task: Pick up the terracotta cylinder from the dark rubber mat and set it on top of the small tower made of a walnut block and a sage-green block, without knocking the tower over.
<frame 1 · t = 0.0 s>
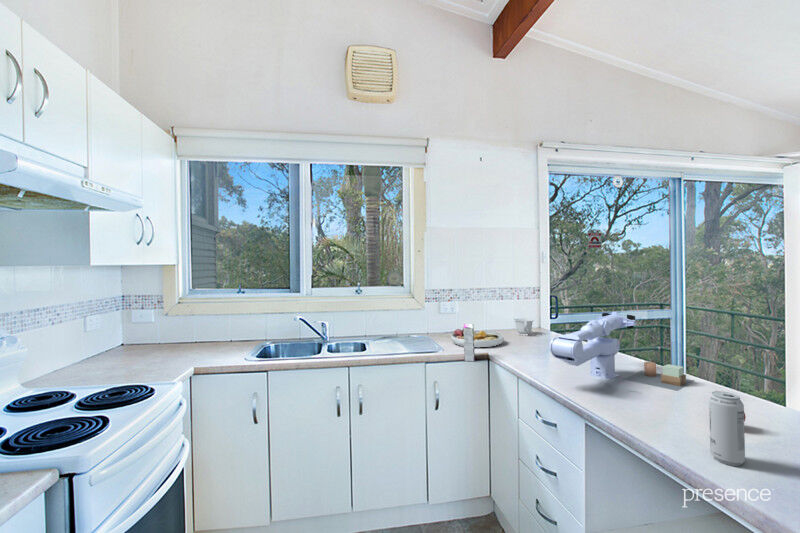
hand: (624, 317, 162), 22 cm above the counter, tool horizontal, fingers open, 7 cm apart
walnut base block: (673, 382, 138), resting on rubber mat, touching sage top block
energy drink can: (727, 461, 85), on the counter
bowl: (477, 344, 219), on the counter
rubber mat: (658, 381, 142), on the counter
onion: (731, 428, 102), on the counter
terracotta cylinder: (650, 375, 148), resting on rubber mat
sage top block: (673, 374, 138), point 3 cm above the counter, touching walnut base block
candy bar box: (469, 359, 183), on the counter
white planter pot: (524, 335, 239), on the counter
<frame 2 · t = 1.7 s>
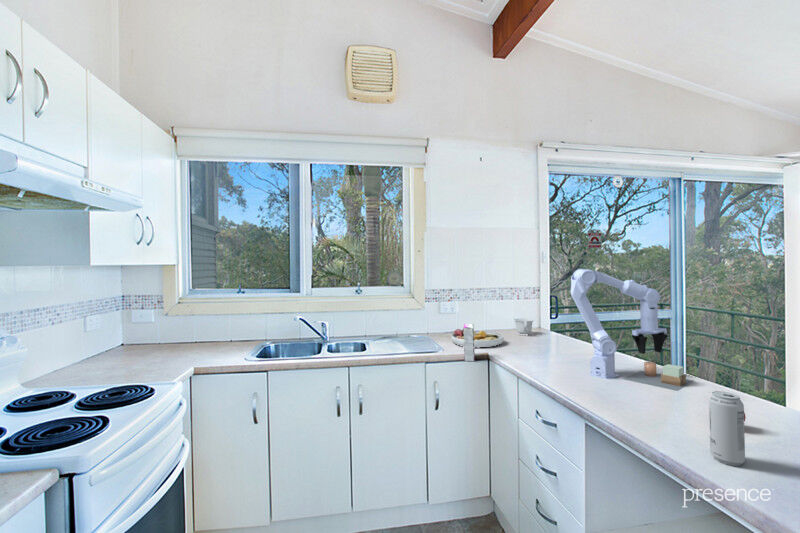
hand: (649, 352, 148), 10 cm above the counter, tool pointing down, fingers open, 7 cm apart
nothing on the counter moved.
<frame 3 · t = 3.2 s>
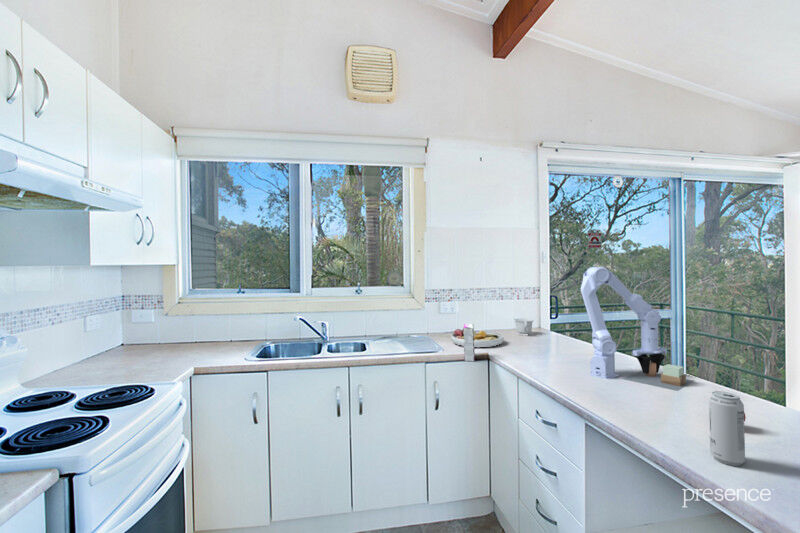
hand: (650, 372, 148), 2 cm above the counter, tool pointing down, fingers closed on terracotta cylinder, 4 cm apart
terracotta cylinder: (650, 375, 148), resting on rubber mat, touching gripper
everything else where it was.
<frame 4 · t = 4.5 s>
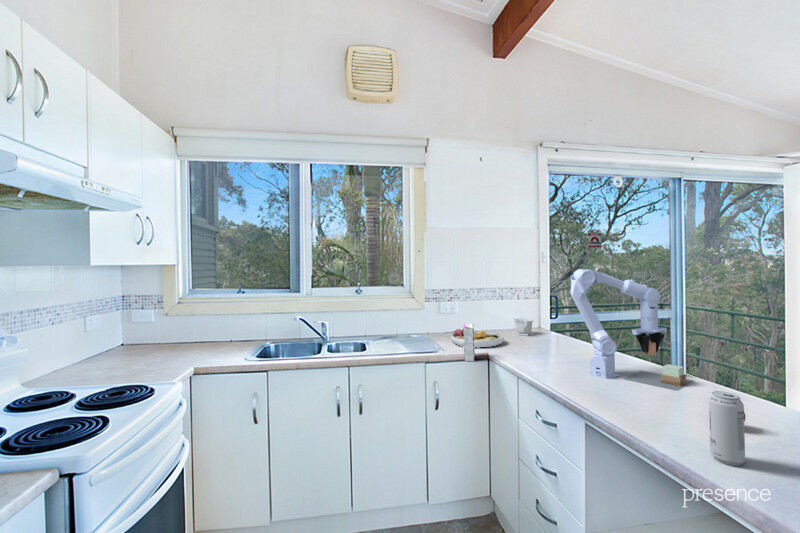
hand: (649, 351, 148), 10 cm above the counter, tool pointing down, fingers closed on terracotta cylinder, 4 cm apart
terracotta cylinder: (649, 354, 148), point 9 cm above the counter, touching gripper
everything else where it was.
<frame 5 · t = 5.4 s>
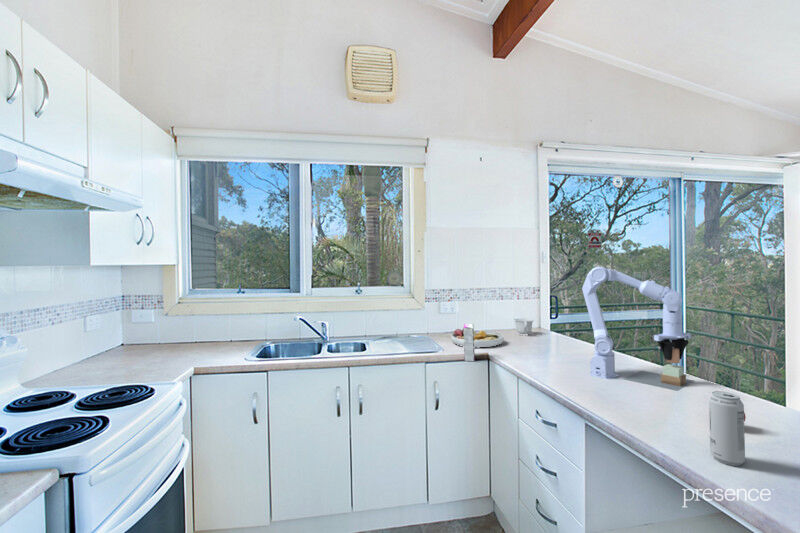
hand: (673, 359, 138), 9 cm above the counter, tool pointing down, fingers closed on terracotta cylinder, 4 cm apart
terracotta cylinder: (673, 362, 138), point 8 cm above the counter, touching gripper
everything else where it was.
when the fingers open (9 cm above the counter, at t = 5.9 s): terracotta cylinder stays where it is, resting on sage top block.
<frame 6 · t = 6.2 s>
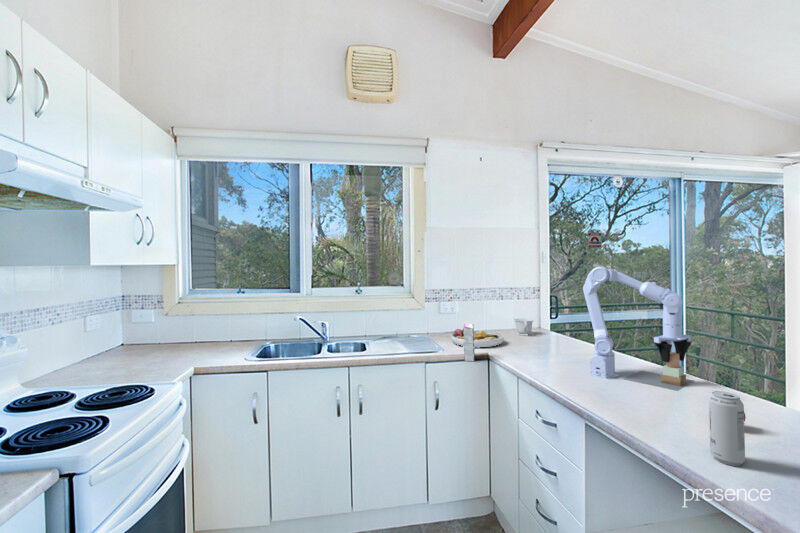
hand: (673, 361, 138), 9 cm above the counter, tool pointing down, fingers open, 6 cm apart
terracotta cylinder: (673, 366, 138), point 6 cm above the counter, touching sage top block
sage top block: (673, 374, 138), point 3 cm above the counter, touching terracotta cylinder, walnut base block
everything else where it was.
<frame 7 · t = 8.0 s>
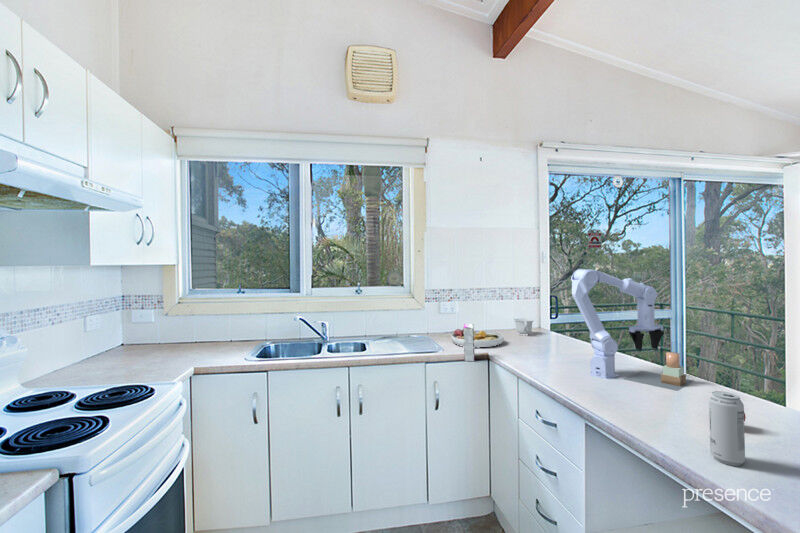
hand: (646, 349, 151), 10 cm above the counter, tool pointing down, fingers open, 7 cm apart
nothing on the counter moved.
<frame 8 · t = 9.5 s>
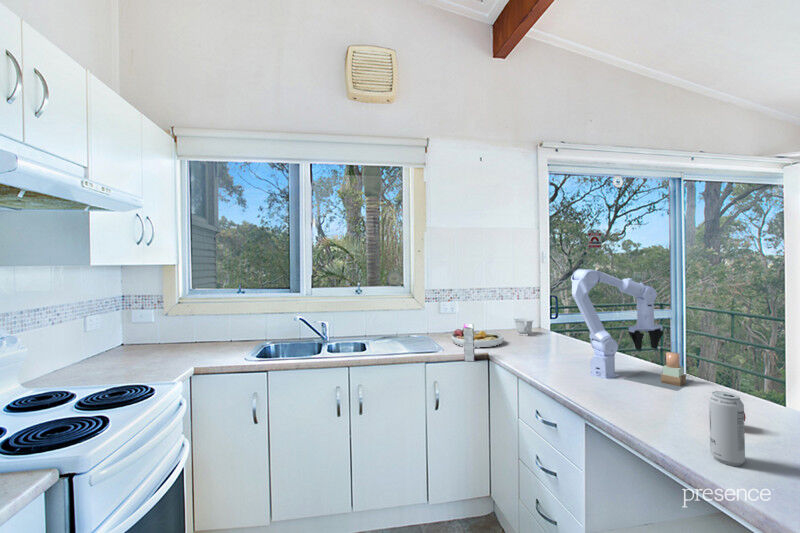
hand: (646, 348, 151), 10 cm above the counter, tool pointing down, fingers open, 7 cm apart
nothing on the counter moved.
at the end: terracotta cylinder 0.0 cm off-centre on the sage top block, point 3.0 cm above the sage top block's base; sage top block 0.0 cm off-centre on the walnut base block, point 3.0 cm above the walnut base block's base; the gripper is holding nothing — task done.
